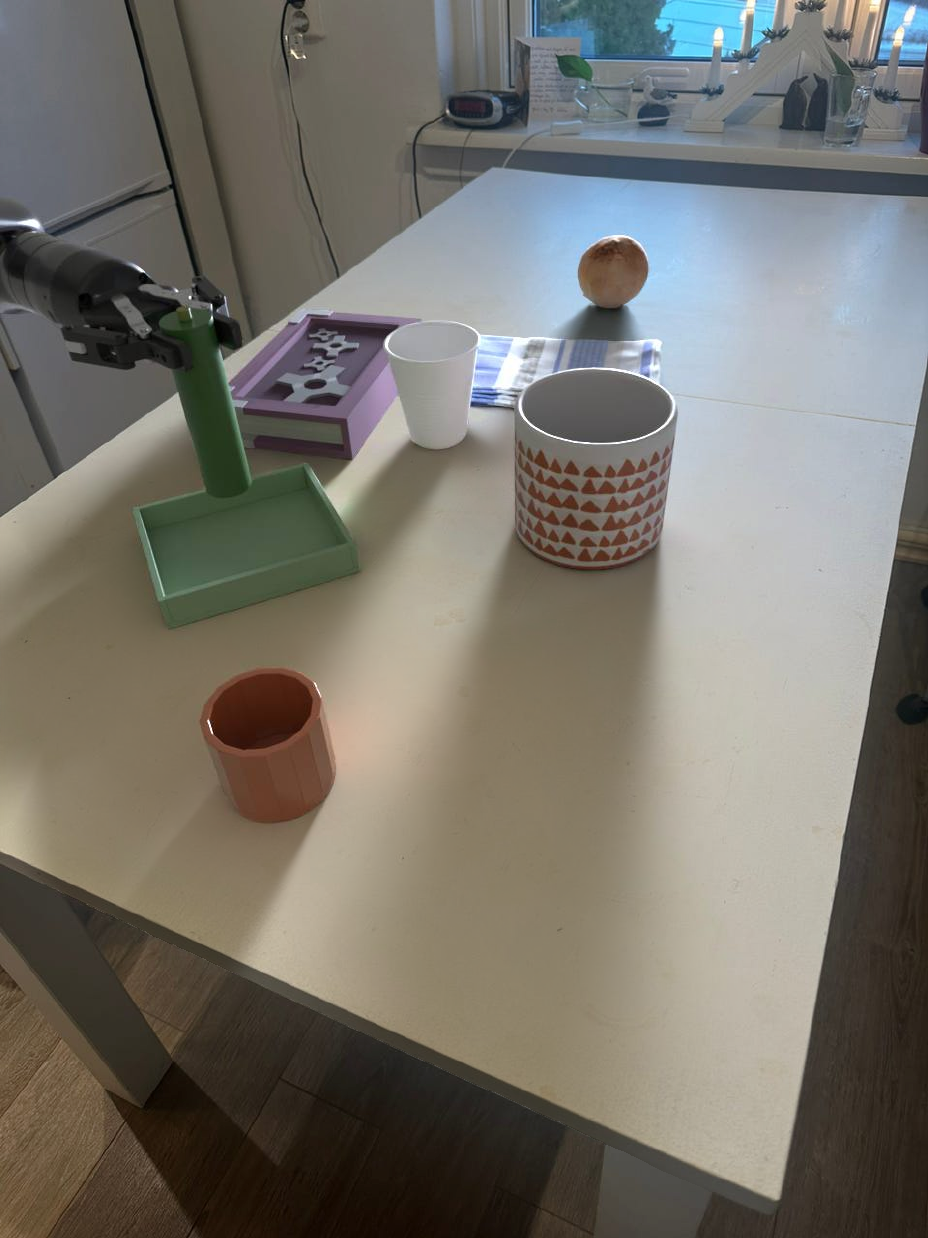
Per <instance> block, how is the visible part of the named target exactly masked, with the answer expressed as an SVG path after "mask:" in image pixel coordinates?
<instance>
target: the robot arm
mask: <svg viewBox="0 0 928 1238" xmlns="http://www.w3.org/2000/svg"><path fill="white" fill-rule="evenodd" d="M45 229H46V228H45V226H44V224H43V222H42V220H41V219H40V217H39V216H38V215H37V214H36V212H35V211H34V210H32V209H31V207H28V206H27V205H25V204H24V203H22V202H20V201H18V200H15V199H13V198H10V197H6V196H3V195H0V315H23V314H24V315H25V314H31V313H32V314H34V315H37V316H39V317H40V318H42V319H45V320H46V321H47V322H49V323H50V324H51V325H52V326H54V327H56V328H57V329H59V330H60V332H61V335H62V337H63V340H64V343H65V345H66V349H67V351H68V354H69V357H70V360H71V361H72V362H76V363H77V362H78V363H82V364H89V365H93V366H99V367H104V368H105V367H106V368H109V369H110V368H111V369H116V370H122V371H128V370H133V369H134V368H136V366H137V363H136V362H138V361H142V362H144V363H145V364H149V365H153V364H159V365H160V366H163V367H165V368H167V369H170V370H172V369H177V370H179V371H181V372H184V373H185V372H187V371H189V370H191V369H193V363H192V359H191V355H190V351H189V348H188V346H187V344H186V343H185V342H184V341H182V340H179V339H177V338H175V337H173V336H170V335H168V334H165V333H163V332H161V330H160V327H159V321H160V319H161V318H162V317H164V316H165V315H167V314H169V313H172V312H175V311H176V309H177V308H179V307H189V308H190V309H203V310H206V311H208V312H210V313H211V314H212V317H213V321H214V325H215V330H216V334H217V338H218V342H219V346H222V347H224V348H225V349H229V350H230V351H236V350H239V349H241V348H242V347H243V340H244V339H243V334H242V330H241V325H240V322H239V320H238V319H235V318H233V317H230V315H229V314H230V313H229V310H228V309H229V308H228V306H227V299H226V295H225V294H224V293H223V292H222V291H221V290H220V289H219V288H218V287H217V286H216V285H215V284H214V283H213V282H212V281H211V280H210V279H208V277H207V276H206V275H205V276H204V275H197V276H194V277H192V279H191V282H192V283H191V284H190V287H189V288H184V289H181V290H178V289H177V288H176V287H174V286H172V285H163V284H157V283H156V282H155V281H154V280H153V279H152V277H150V276H149V274H147V272H146V271H144V269H142V268H141V267H140V266H139V265H138V264H136V263H133V262H132V261H129V260H127V259H123V258H122V257H119V256H116V255H113V254H112V253H111V254H110V253H108V252H105V251H102V250H100V249H97V248H94V247H92V246H89V245H85V244H83V243H76V242H71V241H67V240H65V239H62V238H60V237H56V236H53V235H52V234H49V233H46V230H45Z"/></svg>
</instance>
